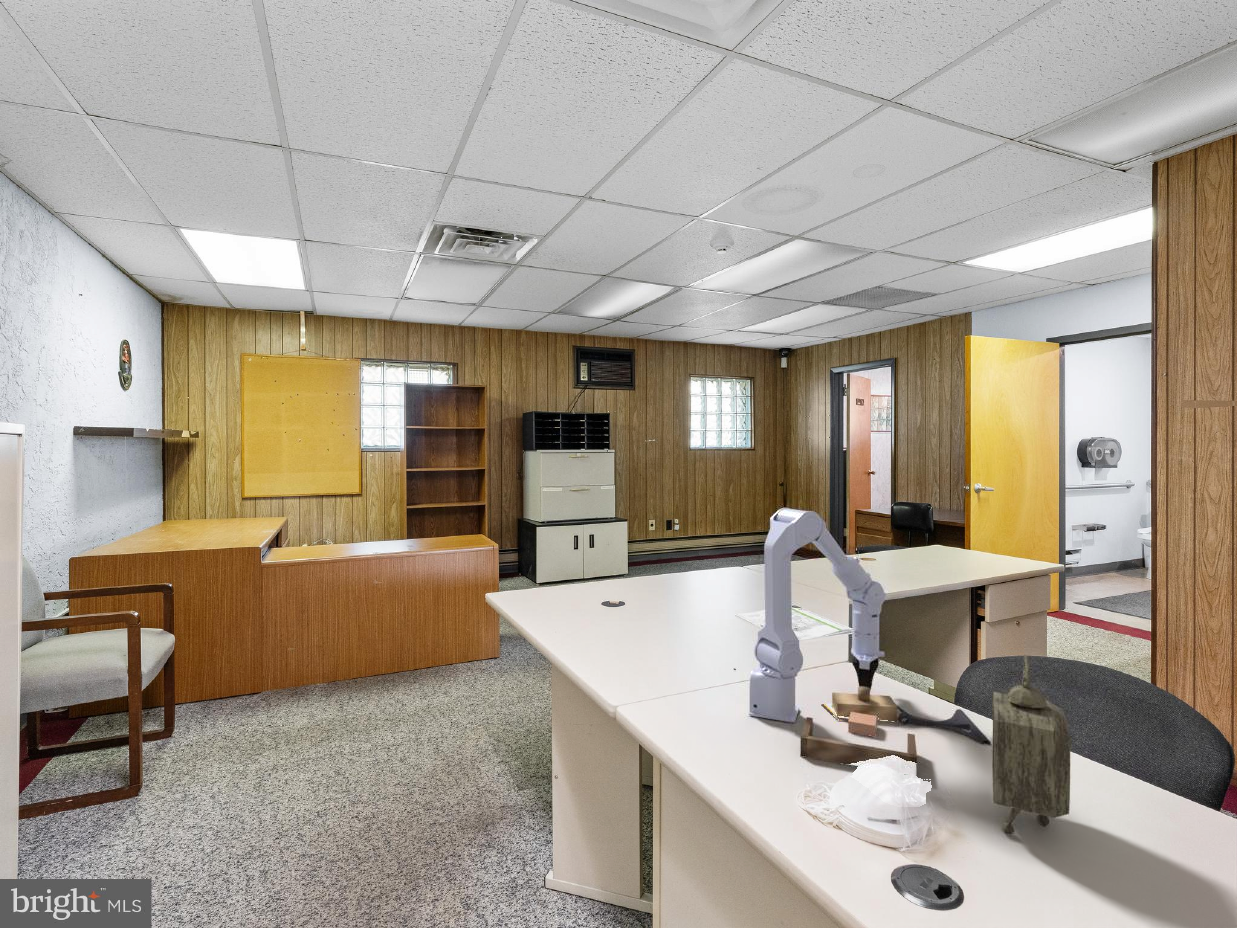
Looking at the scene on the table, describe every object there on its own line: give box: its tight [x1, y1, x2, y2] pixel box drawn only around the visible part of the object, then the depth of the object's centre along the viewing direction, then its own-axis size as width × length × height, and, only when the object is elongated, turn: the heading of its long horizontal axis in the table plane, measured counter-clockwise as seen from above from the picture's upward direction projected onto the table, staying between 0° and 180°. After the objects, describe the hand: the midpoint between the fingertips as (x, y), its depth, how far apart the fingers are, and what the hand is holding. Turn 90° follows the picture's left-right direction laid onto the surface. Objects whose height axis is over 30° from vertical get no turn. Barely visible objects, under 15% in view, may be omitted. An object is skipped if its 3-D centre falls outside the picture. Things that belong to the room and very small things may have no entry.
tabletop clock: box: [991, 654, 1071, 836], centre depth 94 cm, size 14×9×25 cm, turn 150°
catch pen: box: [799, 716, 918, 765], centre depth 115 cm, size 19×10×4 cm, turn 67°
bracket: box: [897, 708, 992, 746], centre depth 127 cm, size 14×15×3 cm
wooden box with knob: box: [831, 686, 899, 723], centre depth 133 cm, size 12×6×6 cm, turn 81°
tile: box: [847, 712, 878, 737], centre depth 126 cm, size 5×5×2 cm
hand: (865, 690), depth 142 cm, fingers closed
